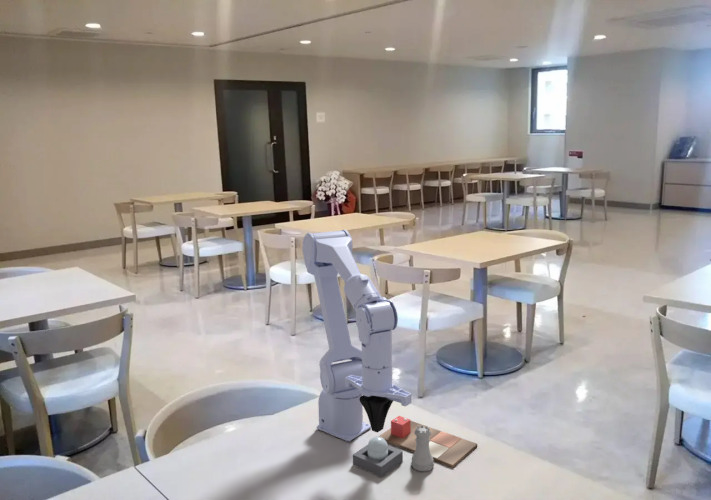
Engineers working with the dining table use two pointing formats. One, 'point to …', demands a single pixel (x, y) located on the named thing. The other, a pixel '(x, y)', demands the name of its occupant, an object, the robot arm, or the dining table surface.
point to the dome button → (377, 449)
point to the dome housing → (375, 466)
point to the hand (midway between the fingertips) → (377, 429)
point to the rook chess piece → (422, 450)
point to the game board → (435, 445)
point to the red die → (400, 426)
